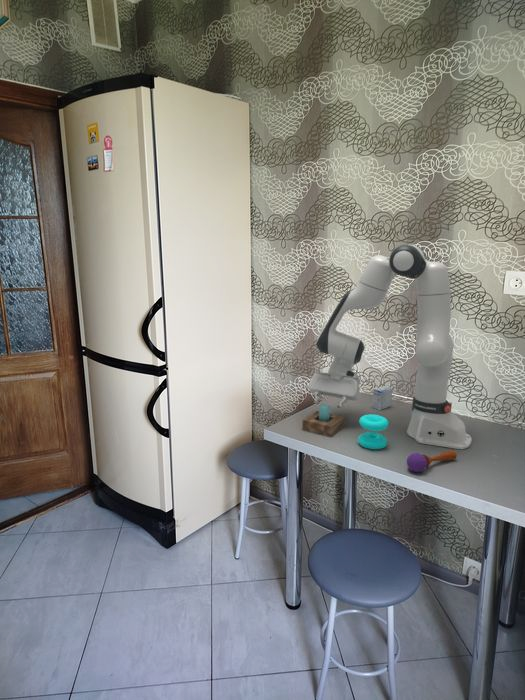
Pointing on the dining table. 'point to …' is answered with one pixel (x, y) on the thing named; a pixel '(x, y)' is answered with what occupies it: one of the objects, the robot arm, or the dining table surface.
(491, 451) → the dining table surface
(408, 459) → the kendama
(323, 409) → the teal rounded cylinder
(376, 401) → the medicine box
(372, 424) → the donuts
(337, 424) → the brown square frame block
